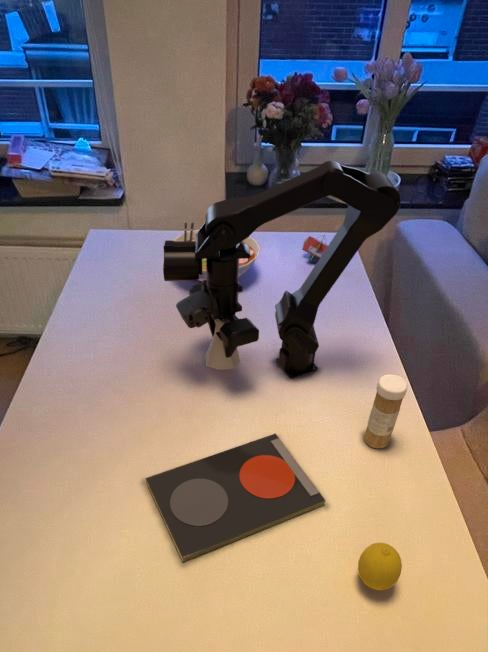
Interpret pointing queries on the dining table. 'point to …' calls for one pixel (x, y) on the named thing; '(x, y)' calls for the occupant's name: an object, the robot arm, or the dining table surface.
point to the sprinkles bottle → (385, 410)
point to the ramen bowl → (243, 263)
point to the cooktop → (232, 495)
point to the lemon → (380, 566)
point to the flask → (220, 353)
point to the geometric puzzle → (314, 247)
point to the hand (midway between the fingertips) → (222, 349)
